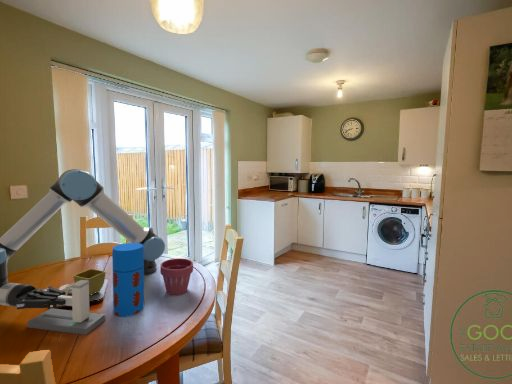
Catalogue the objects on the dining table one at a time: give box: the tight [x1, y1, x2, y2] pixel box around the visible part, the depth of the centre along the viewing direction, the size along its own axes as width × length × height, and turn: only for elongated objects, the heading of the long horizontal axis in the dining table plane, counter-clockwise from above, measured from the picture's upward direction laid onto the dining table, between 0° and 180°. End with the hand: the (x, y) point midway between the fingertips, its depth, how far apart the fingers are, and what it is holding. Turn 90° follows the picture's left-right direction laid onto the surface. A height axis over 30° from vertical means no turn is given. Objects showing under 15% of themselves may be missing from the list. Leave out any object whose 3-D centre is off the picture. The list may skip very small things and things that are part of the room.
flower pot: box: [73, 268, 107, 296], centre depth 116 cm, size 9×9×9 cm
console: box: [26, 307, 106, 336], centre depth 94 cm, size 22×9×2 cm, turn 82°
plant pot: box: [159, 257, 194, 296], centre depth 120 cm, size 14×14×13 cm
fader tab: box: [70, 280, 91, 323], centre depth 92 cm, size 3×4×13 cm
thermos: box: [111, 242, 145, 318], centre depth 103 cm, size 11×11×25 cm
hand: (75, 301), depth 93 cm, fingers closed
